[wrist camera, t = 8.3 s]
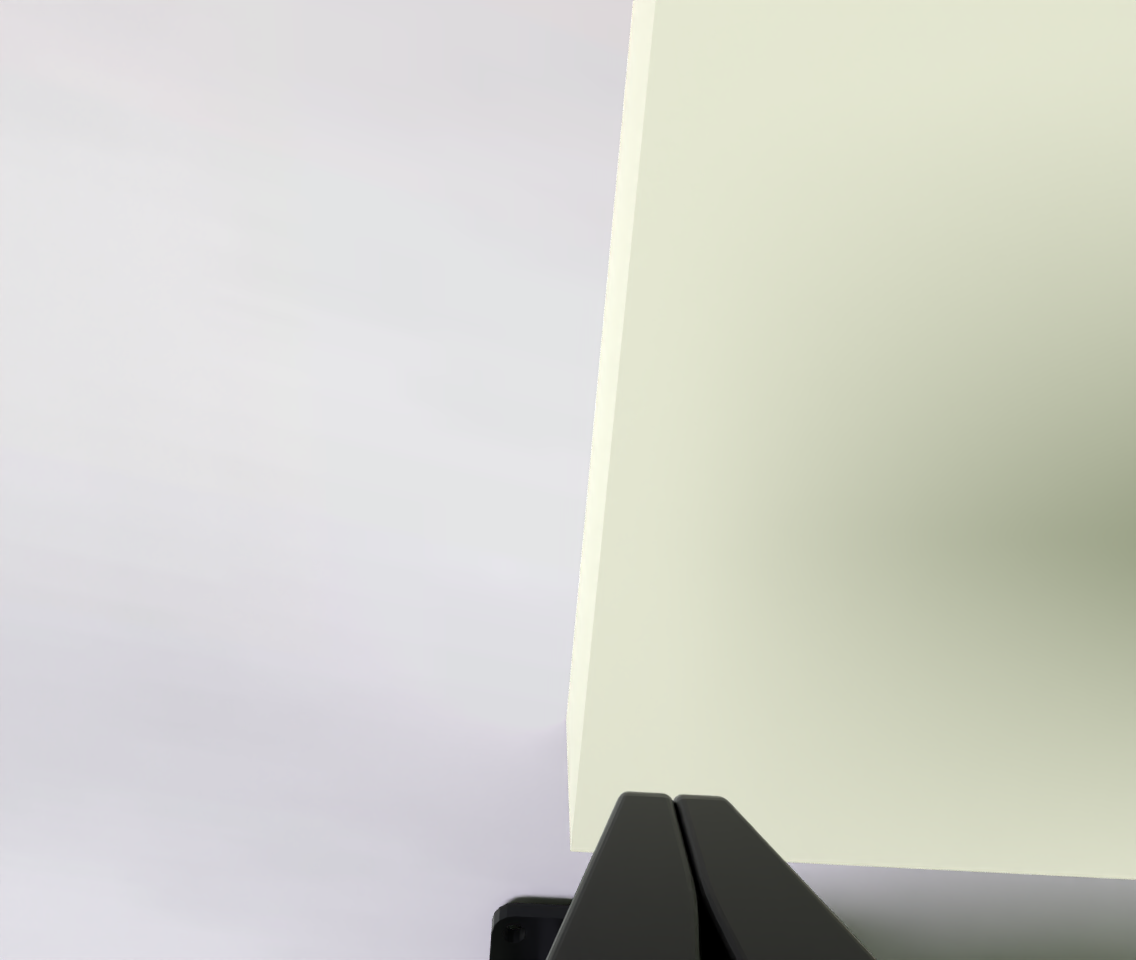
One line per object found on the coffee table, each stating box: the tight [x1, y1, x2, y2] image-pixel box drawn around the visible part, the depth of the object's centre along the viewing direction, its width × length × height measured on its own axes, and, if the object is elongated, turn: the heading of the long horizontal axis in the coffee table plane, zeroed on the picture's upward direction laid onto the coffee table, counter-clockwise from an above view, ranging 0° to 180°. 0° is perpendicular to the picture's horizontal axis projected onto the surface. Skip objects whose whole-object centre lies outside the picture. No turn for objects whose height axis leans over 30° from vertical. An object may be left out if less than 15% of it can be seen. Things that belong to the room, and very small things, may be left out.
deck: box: [566, 0, 1136, 880], centre depth 17 cm, size 20×12×4 cm, turn 175°
